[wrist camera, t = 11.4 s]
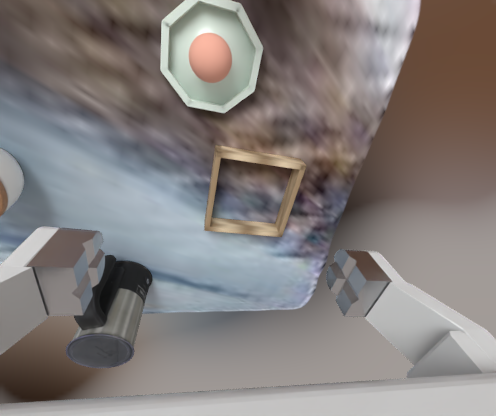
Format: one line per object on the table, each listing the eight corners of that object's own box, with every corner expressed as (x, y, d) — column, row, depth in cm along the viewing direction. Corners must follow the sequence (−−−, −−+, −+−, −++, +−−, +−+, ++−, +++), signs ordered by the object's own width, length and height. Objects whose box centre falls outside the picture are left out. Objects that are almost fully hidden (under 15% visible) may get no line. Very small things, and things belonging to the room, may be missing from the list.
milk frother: (162, 282, 50) (146, 356, 38) (97, 309, 52) (62, 389, 40) (115, 234, 43) (77, 307, 30) (42, 268, 45) (-23, 350, 32)
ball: (189, 76, 31) (183, 79, 27) (193, 29, 29) (187, 24, 25) (228, 85, 32) (228, 89, 28) (234, 40, 30) (236, 37, 25)
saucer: (161, 99, 33) (158, 101, 31) (164, -17, 27) (161, -22, 25) (247, 116, 35) (249, 119, 34) (267, 14, 30) (271, 11, 28)
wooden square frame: (204, 220, 44) (204, 230, 41) (215, 145, 37) (216, 151, 34) (277, 227, 47) (281, 237, 44) (300, 158, 40) (306, 165, 38)
